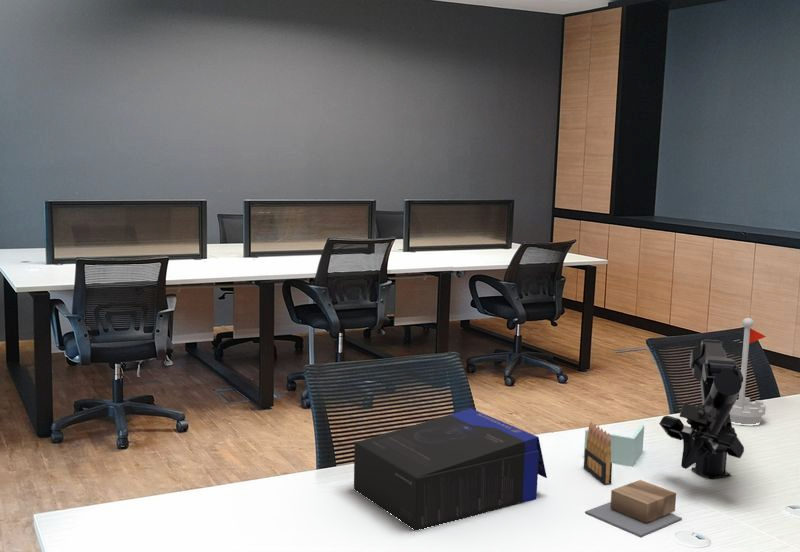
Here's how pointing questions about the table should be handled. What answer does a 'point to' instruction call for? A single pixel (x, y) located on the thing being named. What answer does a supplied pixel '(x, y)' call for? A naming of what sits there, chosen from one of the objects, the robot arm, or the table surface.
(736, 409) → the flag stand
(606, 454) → the ammunition clip
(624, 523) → the mat
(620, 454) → the l-shaped corner panel
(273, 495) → the table surface
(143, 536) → the table surface
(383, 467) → the headphone box
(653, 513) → the tan wooden block
